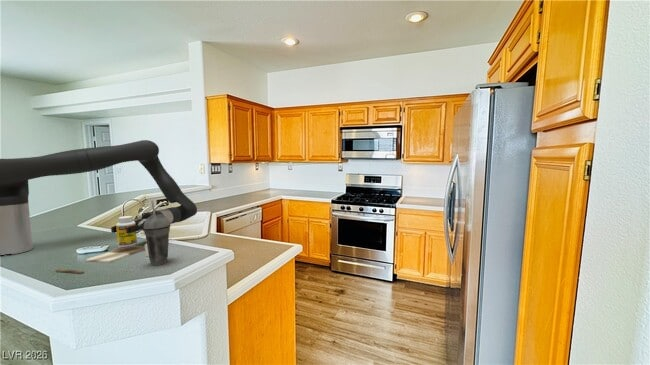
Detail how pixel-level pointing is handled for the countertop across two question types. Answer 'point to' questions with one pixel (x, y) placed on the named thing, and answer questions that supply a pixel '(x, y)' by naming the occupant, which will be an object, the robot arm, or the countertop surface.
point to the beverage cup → (157, 237)
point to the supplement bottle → (122, 235)
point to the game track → (109, 257)
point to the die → (146, 250)
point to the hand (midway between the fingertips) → (119, 230)
